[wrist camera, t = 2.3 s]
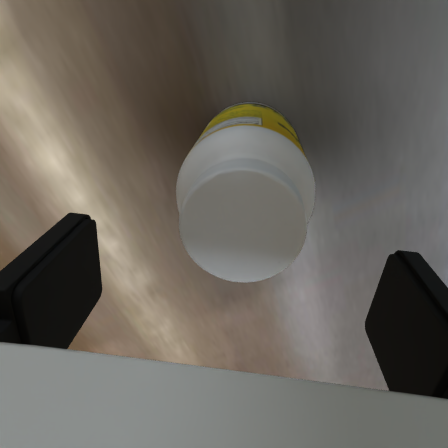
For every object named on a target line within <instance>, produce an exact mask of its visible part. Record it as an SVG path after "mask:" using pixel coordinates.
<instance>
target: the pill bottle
mask: <svg viewBox="0 0 448 448" xmlns="http://www.w3.org/2000/svg"><path fill="white" fill-rule="evenodd" d="M315 198H316V188H315V179H314V176H313V172H312V169H311V166H310V164H309V162H308V160H307V158H306V156H305V154H304V151H303V149H302V146H301V144H300V142H299V140H298V138H297V135H296V133H295V131H294V129H293V127H292V126H291V124H290V123H289V121H288V120H287V119H286V118H285V117H284V116H283V115H282V114H281V113H280V112H278V111H277V110H275V109H274V108H272V107H269V106H267V105H264V104H260V103H250V102H248V103H239V104H235V105H233V106H230V107H228V108H226V109H224V110H223V111H221V112H220V113H218V114H217V115H216V116H215V117H214V118H213V119H212V120H211V121H210V123H209V124H208V125H207V127H206V128H205V130H204V131H203V133H202V134H201V136H200V137H199V139H198V140H197V142H196V143H195V145H194V146H193V148H192V149H191V151H190V152H189V154H188V155H187V157H186V158H185V160H184V162H183V164H182V166H181V169H180V172H179V175H178V178H177V184H176V200H177V206H178V210H179V213H180V215H179V232H180V237H181V240H182V243H183V245H184V247H185V249H186V251H187V252H188V254H189V255H190V257H191V258H192V259H193V260H194V261H195V262H196V263H197V264H198V265H199V266H200V267H201V268H202V269H204V270H205V271H207V272H209V273H210V274H212V275H214V276H216V277H219V278H221V279H224V280H228V281H233V282H255V281H260V280H264V279H267V278H270V277H272V276H274V275H276V274H278V273H280V272H281V271H283V270H284V269H286V268H287V267H288V266H289V265H290V264H291V263H292V262H293V261H294V260H295V258H296V257H297V256H298V255H299V253H300V251H301V249H302V247H303V244H304V242H305V238H306V233H307V224H308V222H309V220H310V218H311V215H312V212H313V209H314V204H315Z"/></svg>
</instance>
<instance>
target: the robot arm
mask: <svg viewBox="0 0 448 448" xmlns="http://www.w3.org/2000/svg"><path fill="white" fill-rule="evenodd" d="M101 293H102V282H101V271H100V260H99V250H98V239H97V229H96V222H95V220H91V218H90V216H89V215H86V214H78V213H69V214H67V215H66V216H65V217H64V218H62V219H61V220H60V221H59V222H58V223H57V224H55V225H54V226H53V227H52V228H51V229H49V230H48V231H47V232H46V233H45V234H44V235H42V236H41V237H40V238H39V239H38V240H37V241H35V242H34V243H33V244H32V245H31V246H29V247H28V248H27V249H26V250H25V251H24V252H22V253H21V254H20V255H19V256H18V257H16V258H15V259H14V260H13V261H12V262H11V263H9V264H8V265H7V266H6V267H5V268H3V269H2V270H1V271H0V448H448V288H447V287H446V285H445V284H444V283H443V282H442V280H441V279H440V278H439V277H438V276H437V274H436V273H435V272H434V271H433V269H432V268H431V267H430V266H429V265H428V263H427V262H426V261H425V260H424V259H423V257H422V256H421V255H420V254H419V253H417V252H409V251H400V250H398V251H396V252H395V253H394V254H391V255H389V257H388V259H387V261H386V264H385V267H384V270H383V273H382V275H381V278H380V281H379V284H378V287H377V290H376V292H375V295H374V298H373V301H372V304H371V306H370V309H369V312H368V315H367V318H366V321H365V330H366V333H367V336H368V338H369V341H370V343H371V346H372V348H373V351H374V353H375V356H376V358H377V361H378V363H379V366H380V368H381V371H382V373H383V376H384V378H385V381H386V383H387V386H388V388H389V391H385V390H378V389H370V388H363V387H356V386H348V385H341V384H333V383H326V382H318V381H310V380H303V379H295V378H287V377H280V376H272V375H264V374H256V373H249V372H241V371H233V370H226V369H218V368H210V367H202V366H195V365H187V364H179V363H172V362H164V361H156V360H149V359H141V358H133V357H125V356H117V355H109V354H101V353H93V352H85V351H77V350H69V349H67V348H68V347H69V345H70V344H71V342H72V341H73V339H74V337H75V336H76V334H77V333H78V331H79V330H80V328H81V327H82V325H83V323H84V322H85V320H86V319H87V317H88V316H89V314H90V313H91V311H92V309H93V308H94V306H95V305H96V303H97V302H98V300H99V298H100V296H101Z"/></svg>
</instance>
